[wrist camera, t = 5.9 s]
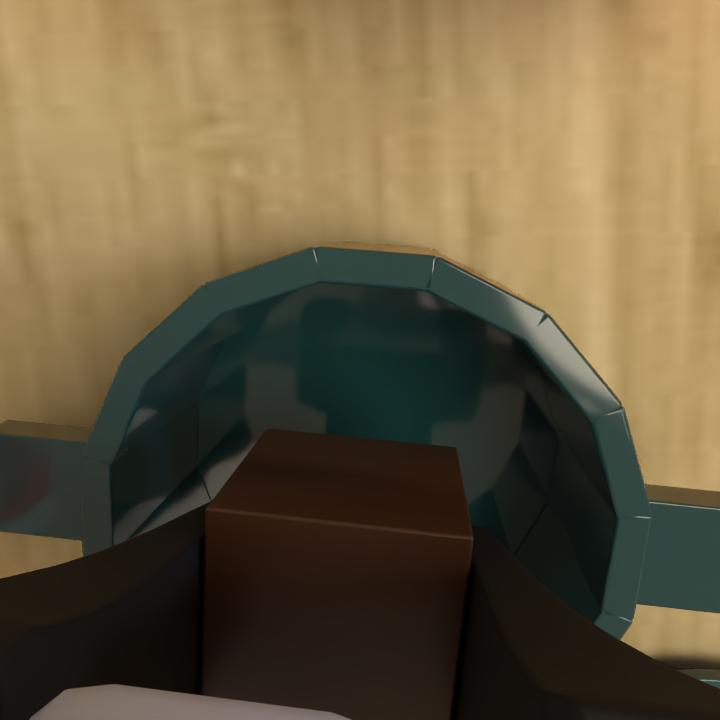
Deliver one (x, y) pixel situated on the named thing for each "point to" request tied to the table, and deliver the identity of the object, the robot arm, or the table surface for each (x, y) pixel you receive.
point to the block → (338, 577)
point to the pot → (378, 422)
